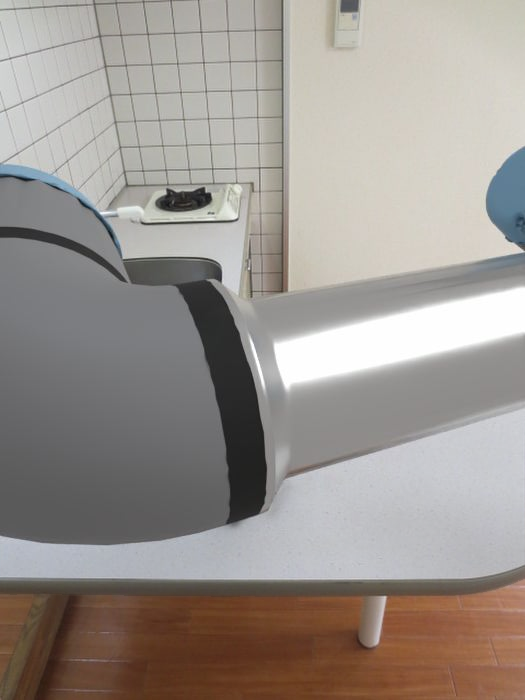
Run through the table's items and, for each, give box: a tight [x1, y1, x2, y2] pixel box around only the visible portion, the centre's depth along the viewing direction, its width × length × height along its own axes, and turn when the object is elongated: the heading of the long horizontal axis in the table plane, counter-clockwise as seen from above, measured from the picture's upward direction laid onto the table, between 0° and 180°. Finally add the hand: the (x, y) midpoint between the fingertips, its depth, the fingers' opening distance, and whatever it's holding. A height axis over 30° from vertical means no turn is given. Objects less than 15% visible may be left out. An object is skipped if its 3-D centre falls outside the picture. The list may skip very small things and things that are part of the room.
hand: (340, 406), depth 67 cm, fingers closed
